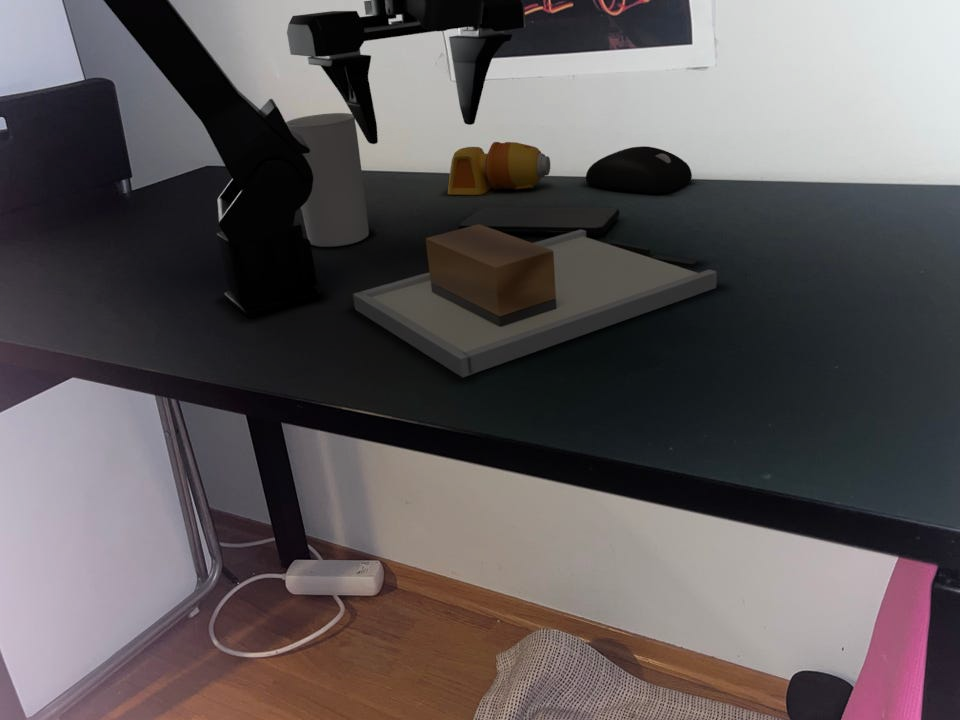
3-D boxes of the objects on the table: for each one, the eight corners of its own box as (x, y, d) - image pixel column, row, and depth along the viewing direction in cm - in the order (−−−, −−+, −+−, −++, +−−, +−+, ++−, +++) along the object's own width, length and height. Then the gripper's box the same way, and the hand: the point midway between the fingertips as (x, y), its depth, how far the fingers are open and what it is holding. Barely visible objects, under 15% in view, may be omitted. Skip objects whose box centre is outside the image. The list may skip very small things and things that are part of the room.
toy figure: (555, 184, 103) (459, 183, 107) (553, 136, 100) (456, 137, 104) (543, 196, 98) (444, 194, 102) (541, 146, 96) (440, 147, 100)
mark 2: (698, 260, 73) (698, 265, 73) (656, 254, 75) (656, 258, 76) (692, 264, 72) (692, 268, 73) (650, 257, 75) (650, 262, 75)
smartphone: (481, 206, 92) (620, 207, 87) (482, 215, 93) (620, 216, 87) (455, 225, 87) (602, 227, 81) (456, 234, 87) (603, 237, 81)
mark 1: (647, 249, 74) (650, 248, 75) (610, 242, 77) (613, 241, 77) (647, 261, 75) (650, 259, 75) (610, 253, 78) (613, 252, 78)
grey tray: (462, 378, 57) (460, 358, 56) (354, 309, 70) (352, 293, 70) (716, 288, 68) (717, 271, 67) (581, 243, 81) (581, 229, 80)
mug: (385, 231, 90) (368, 113, 85) (344, 250, 85) (324, 126, 80) (311, 224, 95) (291, 112, 90) (268, 242, 90) (245, 125, 85)
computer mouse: (607, 173, 105) (606, 139, 103) (698, 181, 98) (699, 145, 96) (572, 188, 100) (570, 153, 98) (666, 197, 93) (666, 160, 91)
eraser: (500, 327, 62) (495, 267, 60) (431, 292, 70) (425, 237, 68) (557, 308, 64) (553, 250, 62) (483, 276, 72) (479, 223, 70)
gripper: (327, -76, 55) (362, 168, 62) (561, -93, 64) (571, 124, 70) (267, -64, 64) (304, 149, 71) (480, -80, 73) (495, 112, 79)
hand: (422, 133), depth 73 cm, fingers open, 9 cm apart
